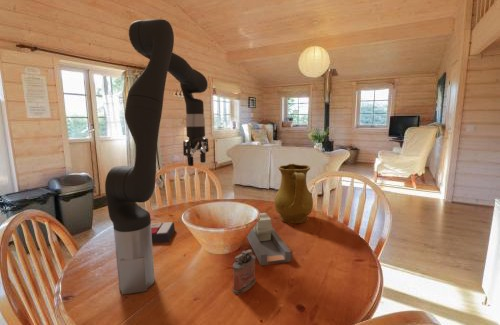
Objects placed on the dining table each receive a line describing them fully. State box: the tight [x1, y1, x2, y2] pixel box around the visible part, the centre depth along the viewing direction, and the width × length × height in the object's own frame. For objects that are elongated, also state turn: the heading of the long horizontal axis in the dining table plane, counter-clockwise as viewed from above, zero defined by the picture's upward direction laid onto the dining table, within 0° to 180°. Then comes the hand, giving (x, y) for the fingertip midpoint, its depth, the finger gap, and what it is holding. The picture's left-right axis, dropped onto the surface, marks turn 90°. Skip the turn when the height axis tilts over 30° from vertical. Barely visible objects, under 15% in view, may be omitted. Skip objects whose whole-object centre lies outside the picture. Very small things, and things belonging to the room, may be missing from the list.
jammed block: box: [253, 212, 272, 241], centre depth 101 cm, size 7×5×8 cm
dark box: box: [151, 221, 176, 243], centre depth 105 cm, size 11×4×15 cm
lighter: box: [232, 249, 257, 295], centre depth 73 cm, size 8×3×10 cm, turn 141°
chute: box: [246, 225, 292, 266], centre depth 99 cm, size 28×10×4 cm, turn 13°
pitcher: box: [274, 163, 314, 224], centre depth 120 cm, size 17×19×25 cm
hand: (197, 164), depth 114 cm, fingers open, 8 cm apart
